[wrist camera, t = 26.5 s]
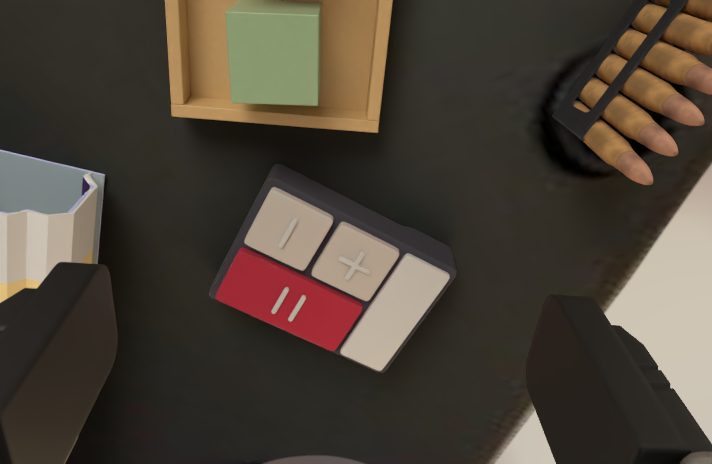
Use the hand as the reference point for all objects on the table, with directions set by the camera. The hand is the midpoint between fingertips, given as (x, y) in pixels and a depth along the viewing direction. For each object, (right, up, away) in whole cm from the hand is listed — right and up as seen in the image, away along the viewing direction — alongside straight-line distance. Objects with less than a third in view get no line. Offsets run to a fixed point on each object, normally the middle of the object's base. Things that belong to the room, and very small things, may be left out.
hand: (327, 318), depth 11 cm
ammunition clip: (+17, +13, +28) cm, 35 cm away
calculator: (-1, -1, +35) cm, 35 cm away
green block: (-4, +13, +26) cm, 30 cm away
